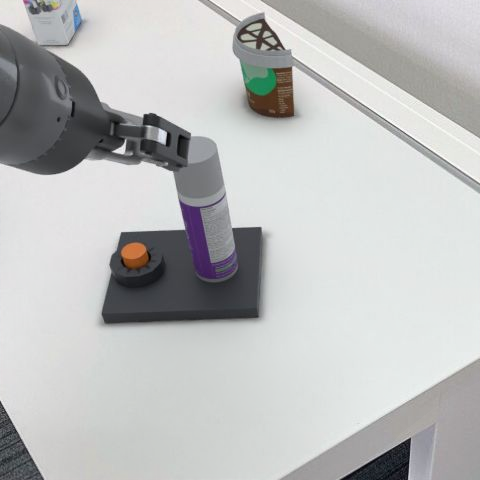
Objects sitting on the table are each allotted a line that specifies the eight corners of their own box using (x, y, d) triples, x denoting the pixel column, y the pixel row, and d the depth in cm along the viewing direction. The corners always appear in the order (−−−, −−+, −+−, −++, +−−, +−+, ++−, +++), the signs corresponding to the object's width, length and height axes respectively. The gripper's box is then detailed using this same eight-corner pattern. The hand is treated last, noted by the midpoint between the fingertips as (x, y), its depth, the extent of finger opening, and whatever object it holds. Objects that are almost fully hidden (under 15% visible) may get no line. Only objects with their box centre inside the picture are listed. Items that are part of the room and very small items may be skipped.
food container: (229, 87, 110) (219, 18, 103) (270, 78, 112) (263, 10, 104) (254, 131, 103) (245, 60, 95) (297, 121, 104) (292, 51, 96)
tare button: (122, 270, 81) (119, 259, 80) (126, 253, 83) (123, 242, 82) (147, 269, 81) (144, 258, 80) (150, 252, 83) (147, 242, 82)
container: (186, 265, 83) (158, 147, 72) (223, 247, 85) (202, 129, 74) (209, 289, 81) (183, 170, 69) (246, 270, 82) (227, 151, 71)
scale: (104, 323, 79) (96, 303, 77) (123, 241, 88) (117, 220, 86) (258, 317, 80) (255, 296, 77) (262, 235, 88) (260, 215, 86)
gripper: (-103, 151, 47) (41, 189, 63) (113, 176, 45) (206, 209, 61) (-93, 26, 46) (51, 97, 62) (127, 46, 44) (217, 114, 60)
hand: (127, 152), depth 62 cm, fingers open, 8 cm apart
